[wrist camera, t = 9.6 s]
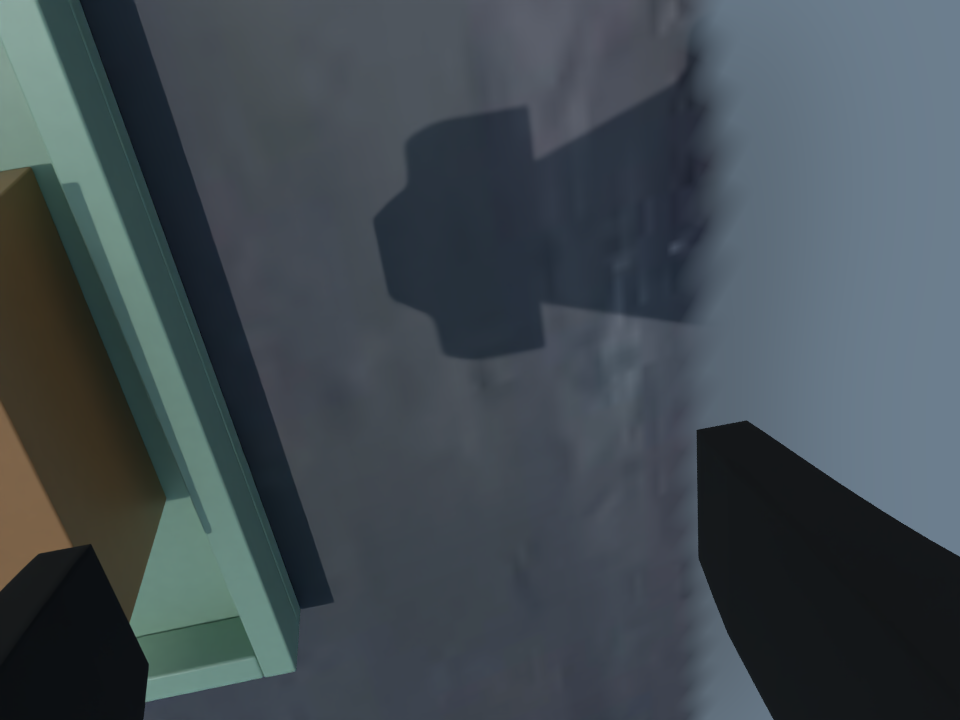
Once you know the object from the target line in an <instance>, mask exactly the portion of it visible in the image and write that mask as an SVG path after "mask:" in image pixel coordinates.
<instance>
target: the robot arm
mask: <svg viewBox="0 0 960 720" xmlns="http://www.w3.org/2000/svg"><path fill="white" fill-rule="evenodd" d="M697 484H698V553H699V560H700V563H701V566H702V568H703V571H704V574H705V576H706V579H707V582H708V584H709V587H710V590H711V592H712V595H713V598H714V600H715V603H716V605H717V608H718V610H719V613H720V615H721V618H722V620H723V623H724V625H725V628H726V630H727V633H728V635H729V637H730V639H731V640H732V642H733V644H734V646H735V648H736V650H737V652H738V654H739V656H740V658H741V659H742V661H743V663H744V665H745V667H746V669H747V670H748V673H749V674H750V676H751V678H752V680H753V682H754V684H755V686H756V688H757V690H758V692H759V693H760V695H761V697H762V699H763V701H764V703H765V705H766V706H767V708H768V710H769V712H770V714H771V716H772V717H773V719H774V720H960V557H959V556H958V555H956V554H954V553H952V552H951V551H949V550H947V549H945V548H943V547H941V546H940V545H938V544H936V543H935V542H933V541H931V540H929V539H928V538H926V537H924V536H922V535H921V534H919V533H918V532H916V531H914V530H913V529H911V528H909V527H908V526H906V525H904V524H903V523H901V522H899V521H898V520H896V519H895V518H893V517H891V516H890V515H888V514H886V513H885V512H883V511H881V510H880V509H878V508H877V507H875V506H874V505H872V504H871V503H869V502H868V501H866V500H864V499H863V498H861V497H860V496H858V495H857V494H855V493H854V492H852V491H851V490H849V489H848V488H846V487H844V486H843V485H841V484H840V483H838V482H837V481H835V480H834V479H832V478H831V477H829V476H828V475H826V474H825V473H823V472H822V471H821V470H819V469H818V468H816V467H815V466H813V465H812V464H810V463H808V462H807V461H806V460H804V459H803V458H801V457H800V456H798V455H797V454H795V453H794V452H793V451H791V450H790V449H788V448H787V447H785V446H784V445H782V444H781V443H779V442H778V441H776V440H775V439H773V438H772V437H771V436H769V435H768V434H766V433H765V432H763V431H762V430H760V429H759V428H757V427H755V426H754V425H753V424H751V423H749V422H748V421H742V422H736V423H731V424H726V425H720V426H715V427H710V428H705V429H699V430H697ZM148 670H149V663H148V661H147V659H146V657H145V655H144V653H143V651H142V649H141V647H140V645H139V642H138V640H137V638H136V636H135V634H134V632H133V630H132V628H131V626H130V624H129V622H128V620H127V617H126V615H125V613H124V611H123V609H122V607H121V605H120V603H119V601H118V599H117V597H116V595H115V592H114V590H113V588H112V586H111V584H110V582H109V580H108V578H107V576H106V574H105V572H104V570H103V568H102V565H101V563H100V561H99V559H98V557H97V555H96V553H95V551H94V549H93V547H92V545H91V544H87V545H82V546H76V547H71V548H66V549H61V550H55V551H50V552H45V553H39V554H38V555H37V556H36V557H35V558H33V559H32V560H31V561H30V562H29V563H28V564H27V565H26V566H25V567H24V568H23V569H22V570H21V571H20V572H19V573H18V574H17V575H16V576H15V577H14V578H13V579H12V580H11V581H10V582H9V583H8V584H7V585H6V586H5V587H4V588H3V589H2V590H1V591H0V720H143V717H144V709H145V699H146V690H147V680H148Z"/></svg>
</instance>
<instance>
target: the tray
mask: <svg viewBox="0 0 960 720" xmlns="http://www.w3.org/2000/svg"><path fill="white" fill-rule="evenodd" d="M24 167H31V168H32V170H33V173H34V175H35V178H36V180H37V182H38V185H39V187H40V190H41V192H42V195H43V197H44V200H45V202H46V205H47V207H48V209H49V212H50V214H51V217H52V219H53V222H54V224H55V227H56V229H57V231H58V234H59V236H60V239H61V241H62V244H63V246H64V249H65V251H66V253H67V256H68V258H69V261H70V263H71V266H72V268H73V271H74V273H75V276H76V278H77V280H78V283H79V285H80V288H81V290H82V293H83V295H84V298H85V300H86V302H87V305H88V307H89V310H90V312H91V315H92V317H93V320H94V322H95V324H96V327H97V329H98V332H99V334H100V337H101V339H102V342H103V344H104V347H105V349H106V351H107V354H108V356H109V359H110V361H111V364H112V366H113V369H114V371H115V373H116V376H117V378H118V381H119V383H120V386H121V388H122V391H123V393H124V395H125V398H126V400H127V403H128V405H129V408H130V410H131V413H132V415H133V418H134V420H135V422H136V425H137V427H138V430H139V432H140V435H141V437H142V440H143V442H144V444H145V447H146V449H147V452H148V454H149V457H150V459H151V462H152V464H153V467H154V469H155V471H156V474H157V476H158V479H159V481H160V484H161V486H162V489H163V491H164V493H165V496H166V502H165V506H164V509H163V512H162V516H161V519H160V522H159V526H158V529H157V533H156V536H155V539H154V543H153V546H152V549H151V553H150V556H149V559H148V563H147V566H146V569H145V573H144V576H143V580H142V583H141V586H140V590H139V593H138V596H137V600H136V603H135V606H134V610H133V613H132V617H131V620H130V623H129V624H130V626H131V628H132V630H133V632H134V634H135V636H136V638H137V640H138V642H139V645H140V647H141V649H142V651H143V653H144V655H145V657H146V659H147V661H148V663H149V670H148V680H147V690H146V699H145V702H148V701H153V700H158V699H163V698H168V697H173V696H177V695H182V694H187V693H192V692H197V691H201V690H206V689H211V688H216V687H221V686H225V685H230V684H235V683H240V682H245V681H249V680H254V679H259V678H262V677H263V676H265V677H271V676H276V675H280V674H285V673H290V672H294V671H296V665H297V651H298V637H299V622H300V607H299V604H298V601H297V599H296V596H295V593H294V590H293V588H292V585H291V582H290V579H289V577H288V574H287V571H286V568H285V566H284V563H283V560H282V557H281V554H280V552H279V549H278V546H277V543H276V541H275V538H274V535H273V532H272V530H271V527H270V524H269V521H268V519H267V516H266V513H265V510H264V508H263V505H262V502H261V499H260V497H259V494H258V491H257V488H256V486H255V483H254V480H253V477H252V475H251V472H250V469H249V466H248V464H247V461H246V458H245V455H244V453H243V450H242V447H241V444H240V442H239V439H238V436H237V433H236V431H235V428H234V425H233V422H232V419H231V417H230V414H229V411H228V408H227V406H226V403H225V400H224V397H223V395H222V392H221V389H220V386H219V384H218V381H217V378H216V375H215V373H214V370H213V367H212V364H211V362H210V359H209V356H208V353H207V351H206V348H205V345H204V342H203V340H202V337H201V334H200V331H199V329H198V326H197V323H196V320H195V318H194V315H193V312H192V309H191V307H190V304H189V301H188V298H187V296H186V293H185V290H184V287H183V284H182V282H181V279H180V276H179V273H178V271H177V268H176V265H175V262H174V260H173V257H172V254H171V251H170V249H169V246H168V243H167V240H166V238H165V235H164V232H163V229H162V227H161V224H160V221H159V218H158V216H157V213H156V210H155V207H154V205H153V202H152V199H151V196H150V194H149V191H148V188H147V185H146V183H145V180H144V177H143V174H142V172H141V169H140V166H139V163H138V160H137V158H136V155H135V152H134V149H133V147H132V144H131V141H130V138H129V136H128V133H127V130H126V127H125V125H124V122H123V119H122V116H121V114H120V111H119V108H118V105H117V103H116V100H115V97H114V94H113V92H112V89H111V86H110V83H109V81H108V78H107V75H106V72H105V70H104V67H103V64H102V61H101V59H100V56H99V53H98V50H97V48H96V45H95V42H94V39H93V37H92V34H91V31H90V28H89V25H88V23H87V20H86V17H85V14H84V12H83V9H82V6H81V3H80V1H79V0H0V172H1V171H7V170H13V169H19V168H24Z"/></svg>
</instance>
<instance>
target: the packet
mask: <svg viewBox="0 0 960 720" xmlns="http://www.w3.org/2000/svg"><path fill="white" fill-rule="evenodd" d="M165 502H166V496H165V493H164V491H163V489H162V486H161V484H160V481H159V479H158V476H157V474H156V471H155V469H154V467H153V464H152V462H151V459H150V457H149V454H148V452H147V449H146V447H145V444H144V442H143V440H142V437H141V435H140V432H139V430H138V427H137V425H136V422H135V420H134V418H133V415H132V413H131V410H130V408H129V405H128V403H127V400H126V398H125V395H124V393H123V391H122V388H121V386H120V383H119V381H118V378H117V376H116V373H115V371H114V369H113V366H112V364H111V361H110V359H109V356H108V354H107V351H106V349H105V347H104V344H103V342H102V339H101V337H100V334H99V332H98V329H97V327H96V324H95V322H94V320H93V317H92V315H91V312H90V310H89V307H88V305H87V302H86V300H85V298H84V295H83V293H82V290H81V288H80V285H79V283H78V280H77V278H76V276H75V273H74V271H73V268H72V266H71V263H70V261H69V258H68V256H67V253H66V251H65V249H64V246H63V244H62V241H61V239H60V236H59V234H58V231H57V229H56V227H55V224H54V222H53V219H52V217H51V214H50V212H49V209H48V207H47V205H46V202H45V200H44V197H43V195H42V192H41V190H40V187H39V185H38V182H37V180H36V178H35V175H34V173H33V170H32V168H31V167H24V168H19V169H13V170H7V171H1V172H0V591H1V590H2V589H3V588H4V587H5V586H6V585H7V584H8V583H9V582H10V581H11V580H12V579H13V578H14V577H15V576H16V575H17V574H18V573H19V572H20V571H21V570H22V569H23V568H24V567H25V566H26V565H27V564H28V563H29V562H30V561H31V560H32V559H33V558H35V557H36V556H37V555H38V554H39V553H45V552H50V551H55V550H61V549H66V548H71V547H76V546H82V545H87V544H91V545H92V547H93V549H94V551H95V553H96V555H97V557H98V559H99V561H100V563H101V565H102V568H103V570H104V572H105V574H106V576H107V578H108V580H109V582H110V584H111V586H112V588H113V590H114V592H115V595H116V597H117V599H118V601H119V603H120V605H121V607H122V609H123V611H124V613H125V615H126V617H127V620H128V622H129V623H130V620H131V617H132V613H133V610H134V606H135V603H136V600H137V596H138V593H139V590H140V586H141V583H142V580H143V576H144V573H145V569H146V566H147V563H148V559H149V556H150V553H151V549H152V546H153V543H154V539H155V536H156V533H157V529H158V526H159V522H160V519H161V516H162V512H163V509H164V506H165Z"/></svg>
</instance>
